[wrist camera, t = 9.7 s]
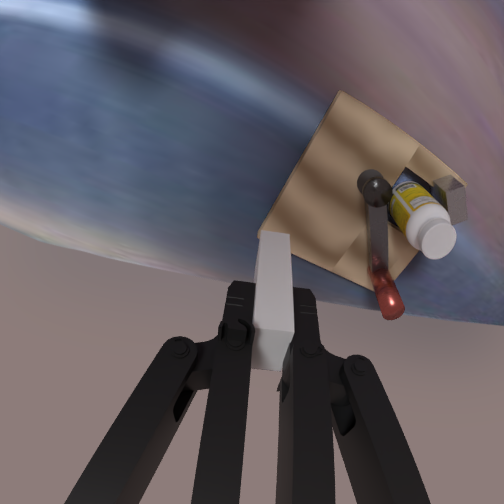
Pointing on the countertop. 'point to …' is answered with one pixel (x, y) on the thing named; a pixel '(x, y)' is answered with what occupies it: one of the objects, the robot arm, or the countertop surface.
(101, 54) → the countertop surface
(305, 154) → the tan flat square sheet
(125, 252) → the countertop surface
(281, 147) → the countertop surface
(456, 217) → the grey angular block
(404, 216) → the pill bottle
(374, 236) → the lever
